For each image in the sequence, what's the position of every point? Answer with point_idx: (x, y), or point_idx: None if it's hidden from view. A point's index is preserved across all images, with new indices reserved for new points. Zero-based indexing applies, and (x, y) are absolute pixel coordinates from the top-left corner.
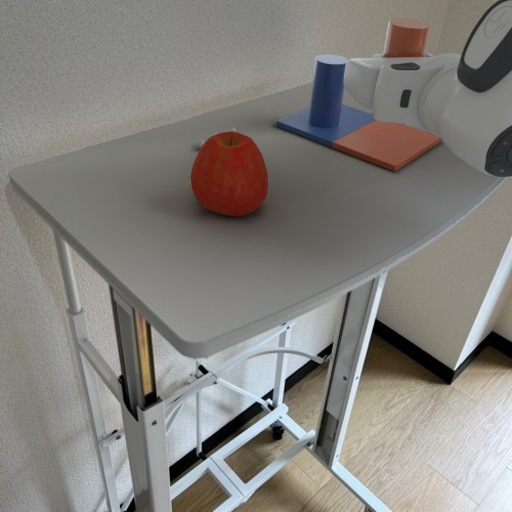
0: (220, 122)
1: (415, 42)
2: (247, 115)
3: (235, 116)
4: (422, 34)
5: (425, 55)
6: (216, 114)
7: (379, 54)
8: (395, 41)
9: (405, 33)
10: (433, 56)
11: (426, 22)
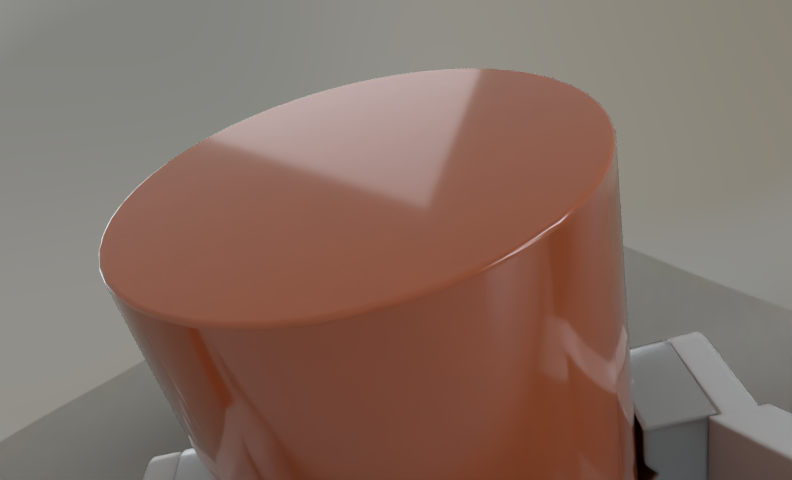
0: (44, 465)
1: (403, 472)
2: (153, 406)
3: (113, 418)
4: (477, 355)
5: (661, 408)
6: (64, 415)
7: (189, 468)
8: (189, 434)
9: (209, 385)
10: (755, 429)
11: (580, 91)
